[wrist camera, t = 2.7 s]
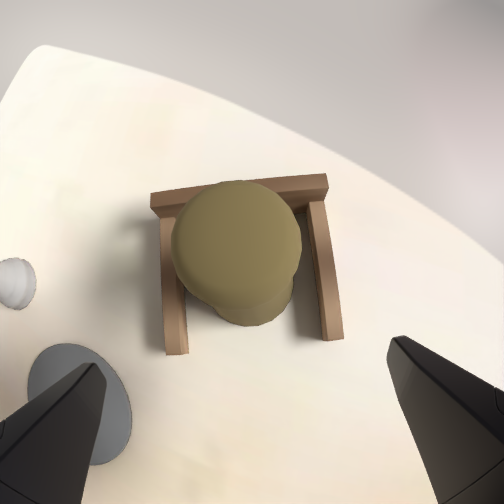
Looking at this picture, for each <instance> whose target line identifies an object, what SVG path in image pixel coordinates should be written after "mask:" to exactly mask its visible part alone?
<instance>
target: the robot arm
mask: <svg viewBox="0 0 504 504" xmlns="http://www.w3.org/2000/svg"><path fill="white" fill-rule="evenodd" d="M387 364H388V368H389V371H390V374H391V378H392V381H393V384H394V388H395V391H396V395H397V398H398V401H399V404H400V406H401V409H402V411H403V413H404V416H405V418H406V420H407V423H408V425H409V428H410V430H411V433H412V435H413V438H414V440H415V443H416V445H417V448H418V450H419V453H420V455H421V458H422V460H423V463H424V466H425V468H426V471H427V474H428V476H429V479H430V482H431V485H432V487H433V490H434V493H435V496H436V499H437V501H438V504H504V391H502V390H500V389H498V388H497V387H495V388H494V386H492V385H491V384H489V383H487V382H485V381H484V380H482V379H480V378H478V377H477V376H475V375H473V374H471V373H470V372H468V371H466V370H464V369H463V368H461V367H459V366H458V365H456V364H454V363H452V362H451V361H449V360H447V359H445V358H444V357H442V356H440V355H438V354H437V353H435V352H433V351H431V350H430V349H428V348H426V347H424V346H423V345H421V344H419V343H417V342H416V341H414V340H412V339H410V338H409V337H407V336H404V335H402V336H397V337H393V338H392V339H391V342H390V346H389V349H388V353H387ZM106 388H107V380H106V378H105V376H104V374H103V373H102V371H101V370H100V368H99V367H98V365H97V364H96V363H95V362H84V363H82V364H81V365H79V366H78V367H77V368H75V369H74V370H72V371H71V372H70V373H68V374H67V375H65V376H64V377H63V378H61V379H60V380H59V381H57V382H56V383H54V384H53V385H52V386H50V387H49V388H47V389H46V390H45V391H43V392H42V393H41V394H39V395H38V396H36V397H35V398H34V399H32V400H31V401H30V402H28V403H27V404H25V405H24V406H23V407H21V408H20V409H19V410H17V411H16V412H14V413H13V414H12V415H10V416H9V417H8V418H6V420H3V421H1V422H0V504H81V500H82V496H83V491H84V486H85V482H86V477H87V473H88V469H89V465H90V461H91V457H92V453H93V449H94V445H95V441H96V437H97V434H98V430H99V426H100V422H101V417H102V411H103V405H104V399H105V394H106Z"/></svg>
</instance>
